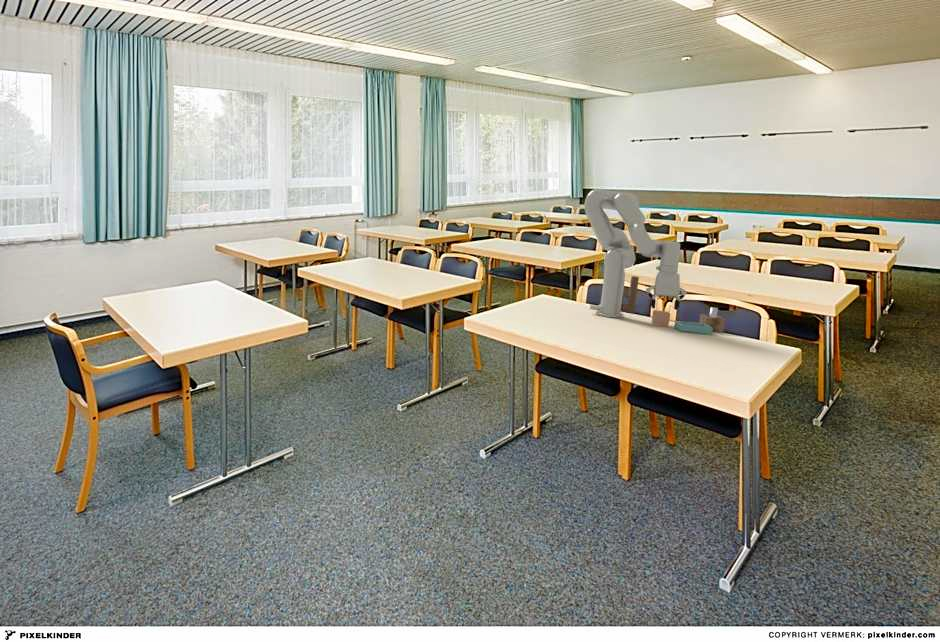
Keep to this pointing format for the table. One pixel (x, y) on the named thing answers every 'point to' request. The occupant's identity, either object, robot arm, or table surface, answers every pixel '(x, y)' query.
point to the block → (660, 318)
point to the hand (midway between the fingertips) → (664, 308)
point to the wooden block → (630, 296)
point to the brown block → (713, 322)
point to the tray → (693, 327)
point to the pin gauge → (713, 312)
